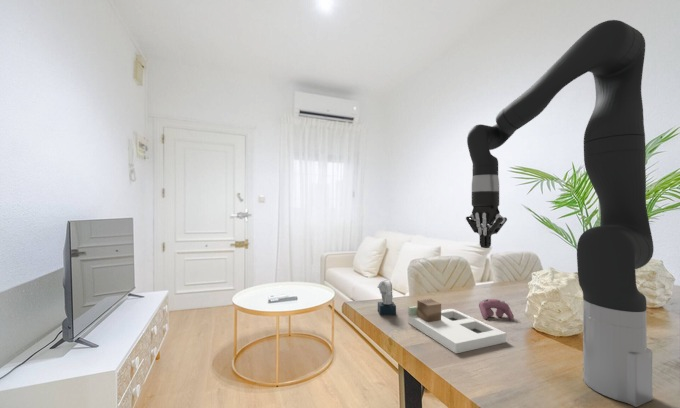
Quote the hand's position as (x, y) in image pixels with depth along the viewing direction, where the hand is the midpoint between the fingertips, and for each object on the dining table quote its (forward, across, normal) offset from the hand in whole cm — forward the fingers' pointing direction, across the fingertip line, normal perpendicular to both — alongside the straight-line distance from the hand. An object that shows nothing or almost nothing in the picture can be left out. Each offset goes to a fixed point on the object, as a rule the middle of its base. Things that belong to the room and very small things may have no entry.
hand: (485, 247), depth 84 cm
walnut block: (+22, +9, +14) cm, 28 cm away
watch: (+25, +23, +20) cm, 40 cm away
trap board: (+25, +3, +10) cm, 27 cm away
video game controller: (+25, +6, -13) cm, 29 cm away
